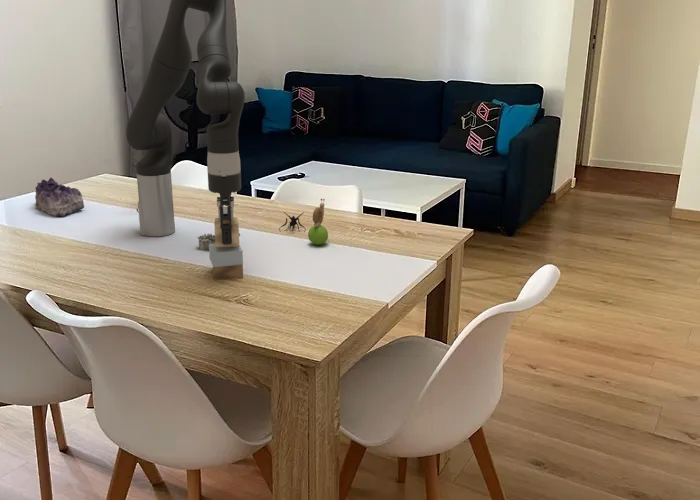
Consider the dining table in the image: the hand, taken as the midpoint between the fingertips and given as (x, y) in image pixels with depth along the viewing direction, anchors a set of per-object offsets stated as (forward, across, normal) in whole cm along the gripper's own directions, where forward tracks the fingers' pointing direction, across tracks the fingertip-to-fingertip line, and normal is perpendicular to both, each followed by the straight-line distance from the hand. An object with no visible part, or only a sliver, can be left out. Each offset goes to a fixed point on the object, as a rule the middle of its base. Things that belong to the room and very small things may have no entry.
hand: (227, 239), depth 172 cm
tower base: (+9, 0, 0) cm, 9 cm away
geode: (+9, -64, -54) cm, 84 cm away
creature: (+9, -33, +18) cm, 39 cm away
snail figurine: (+9, -20, +24) cm, 32 cm away
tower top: (+5, 0, 0) cm, 5 cm away
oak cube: (+1, 0, 0) cm, 1 cm away
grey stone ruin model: (+9, -20, -3) cm, 22 cm away
